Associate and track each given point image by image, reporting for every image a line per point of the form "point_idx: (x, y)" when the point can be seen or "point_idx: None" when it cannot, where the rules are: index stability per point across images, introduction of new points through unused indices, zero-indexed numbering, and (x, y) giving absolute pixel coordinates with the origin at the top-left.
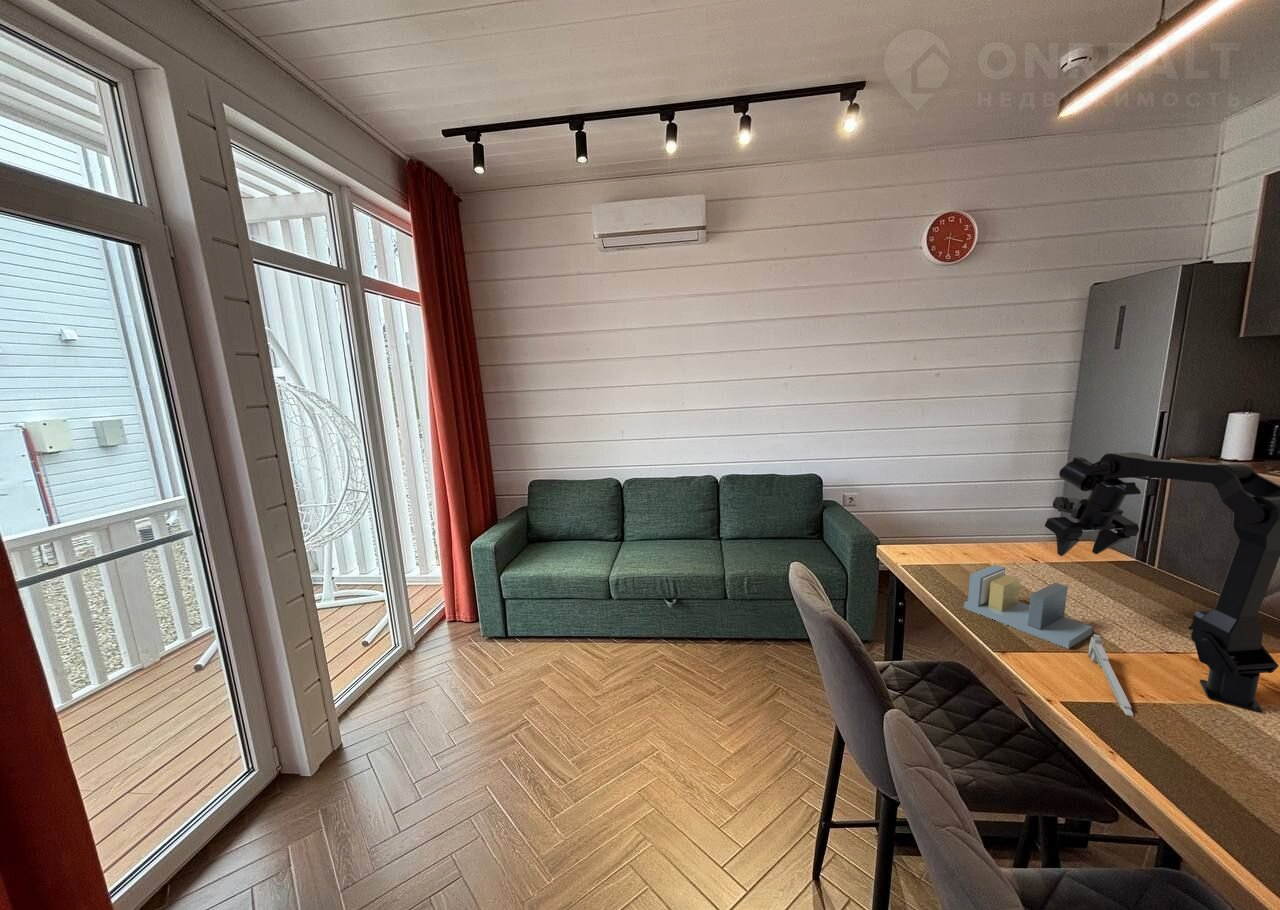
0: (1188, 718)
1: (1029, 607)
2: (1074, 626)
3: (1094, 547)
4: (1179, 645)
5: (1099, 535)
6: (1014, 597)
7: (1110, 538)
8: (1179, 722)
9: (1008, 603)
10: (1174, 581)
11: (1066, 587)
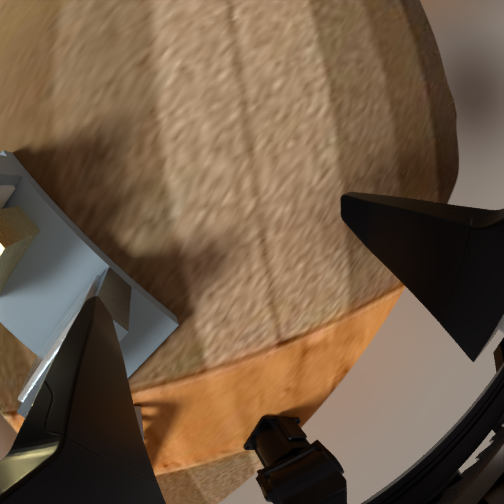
0: (194, 480)
1: (28, 373)
2: (136, 336)
3: (367, 212)
4: (318, 306)
5: (457, 236)
6: (16, 256)
7: (459, 308)
8: (181, 487)
9: (5, 278)
10: (435, 52)
11: (122, 338)
